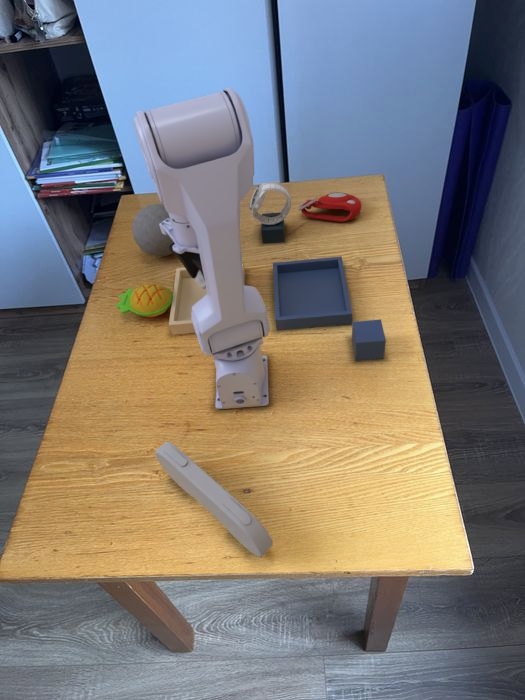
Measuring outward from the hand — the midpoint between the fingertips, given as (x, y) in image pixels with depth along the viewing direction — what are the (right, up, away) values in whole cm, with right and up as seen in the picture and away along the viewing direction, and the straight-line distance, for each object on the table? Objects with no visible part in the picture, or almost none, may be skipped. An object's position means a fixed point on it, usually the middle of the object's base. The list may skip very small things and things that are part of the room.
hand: (204, 279), depth 88 cm
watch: (+12, +11, +15) cm, 22 cm away
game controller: (+4, -33, -21) cm, 40 cm away
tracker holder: (+24, +17, +18) cm, 34 cm away
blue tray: (+18, -3, +2) cm, 19 cm away
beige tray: (+1, -4, +4) cm, 6 cm away
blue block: (+27, -12, -7) cm, 30 cm away
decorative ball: (-10, +8, +15) cm, 20 cm away
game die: (0, -1, +1) cm, 2 cm away
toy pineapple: (-10, -5, +4) cm, 13 cm away
